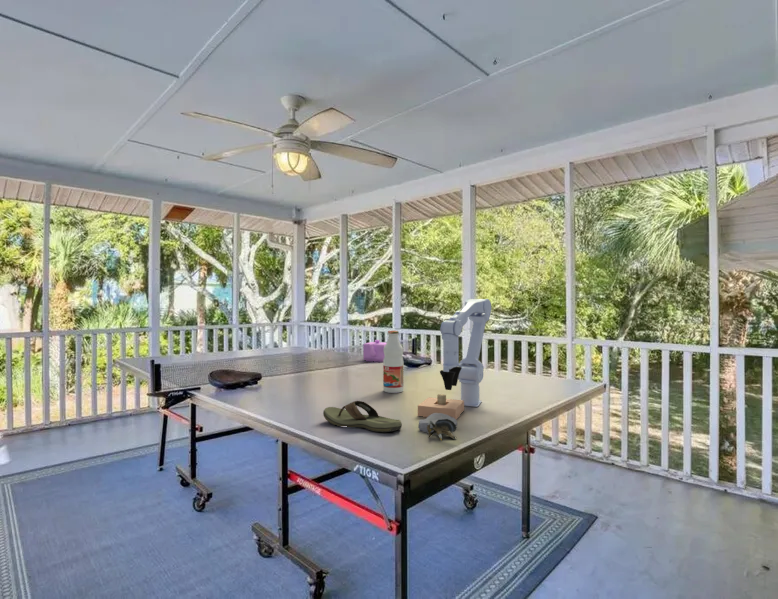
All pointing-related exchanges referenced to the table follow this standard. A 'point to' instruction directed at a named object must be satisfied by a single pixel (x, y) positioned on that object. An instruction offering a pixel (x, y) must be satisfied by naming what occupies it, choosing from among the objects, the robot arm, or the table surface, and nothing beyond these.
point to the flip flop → (360, 418)
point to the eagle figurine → (442, 428)
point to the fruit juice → (393, 364)
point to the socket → (441, 407)
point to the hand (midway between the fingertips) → (451, 387)
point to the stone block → (434, 418)
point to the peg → (441, 399)
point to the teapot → (374, 351)
